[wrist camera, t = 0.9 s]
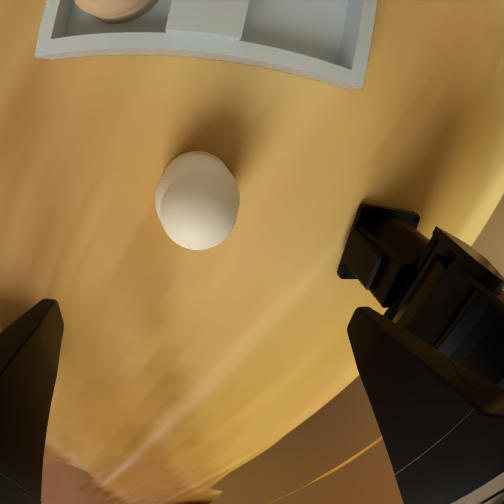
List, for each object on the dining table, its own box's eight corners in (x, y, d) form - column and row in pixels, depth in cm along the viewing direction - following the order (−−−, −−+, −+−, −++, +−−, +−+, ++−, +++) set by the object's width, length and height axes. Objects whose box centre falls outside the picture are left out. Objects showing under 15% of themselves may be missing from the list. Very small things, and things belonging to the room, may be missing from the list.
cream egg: (237, 153, 18) (261, 182, 12) (227, 221, 20) (243, 273, 14) (162, 146, 16) (150, 172, 11) (157, 216, 19) (147, 269, 13)
